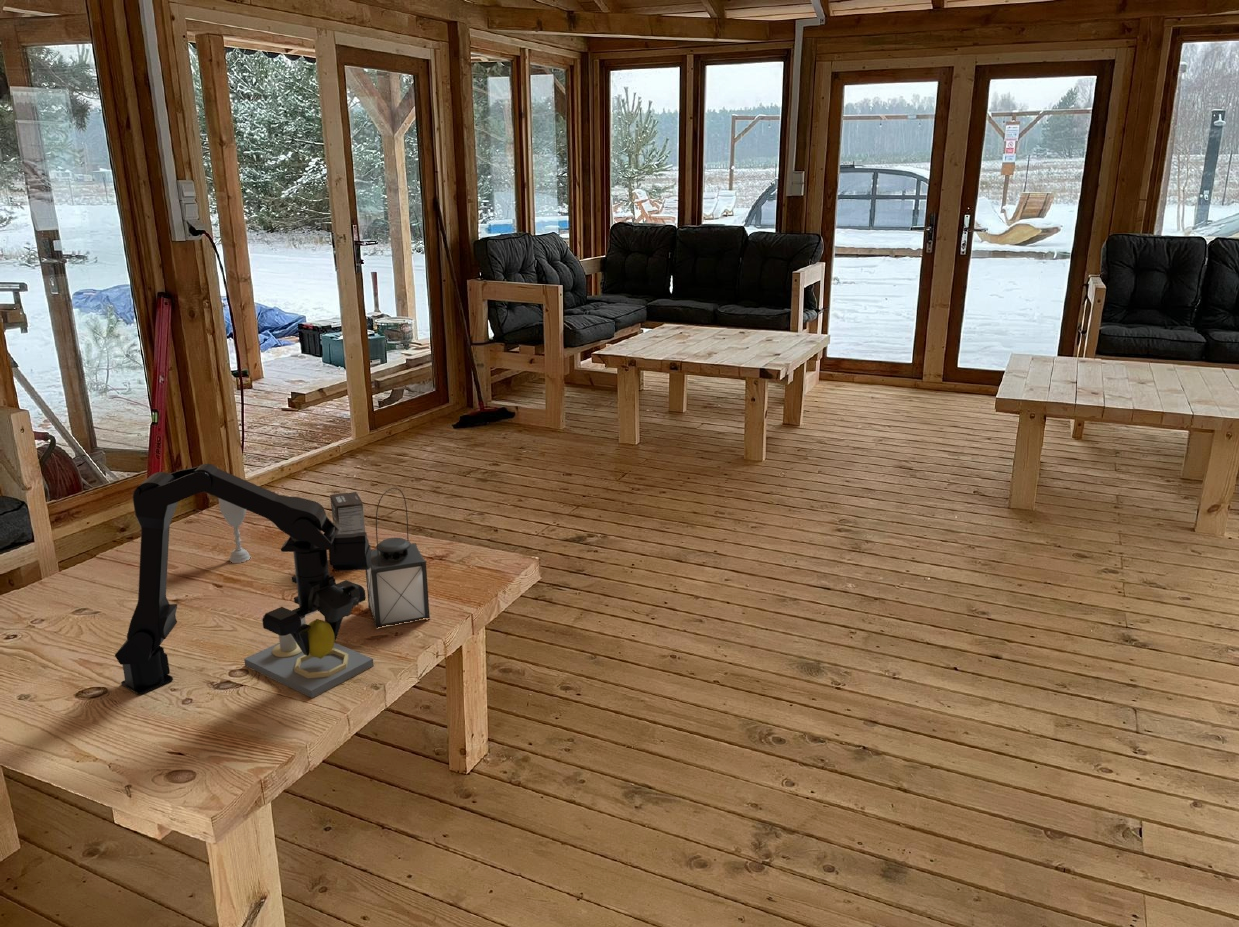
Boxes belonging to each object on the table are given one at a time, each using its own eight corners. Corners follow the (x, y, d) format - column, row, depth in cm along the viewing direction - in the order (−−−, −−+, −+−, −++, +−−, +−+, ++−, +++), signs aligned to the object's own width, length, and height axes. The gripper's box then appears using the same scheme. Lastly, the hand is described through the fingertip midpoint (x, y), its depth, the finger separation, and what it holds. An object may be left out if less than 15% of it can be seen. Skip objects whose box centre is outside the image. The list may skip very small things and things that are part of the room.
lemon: (327, 667, 168) (323, 627, 166) (299, 664, 169) (295, 624, 167) (341, 652, 173) (338, 614, 171) (314, 649, 174) (311, 611, 172)
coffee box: (335, 556, 225) (329, 494, 220) (362, 552, 228) (356, 490, 223) (341, 570, 217) (335, 505, 213) (368, 565, 220) (363, 502, 215)
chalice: (218, 562, 221) (208, 492, 216) (237, 552, 228) (228, 483, 222) (243, 566, 219) (234, 495, 214) (262, 555, 225) (253, 486, 220)
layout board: (311, 698, 163) (308, 665, 161) (245, 665, 174) (240, 634, 172) (373, 665, 174) (370, 635, 172) (307, 637, 185) (303, 607, 183)
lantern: (420, 599, 202) (411, 478, 194) (430, 620, 192) (421, 493, 184) (368, 607, 198) (357, 484, 190) (376, 629, 188) (364, 500, 180)
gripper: (296, 600, 154) (304, 683, 159) (382, 564, 169) (388, 641, 173) (256, 584, 160) (265, 664, 165) (342, 551, 175) (349, 625, 179)
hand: (319, 648), depth 170 cm, fingers closed on lemon, 5 cm apart
